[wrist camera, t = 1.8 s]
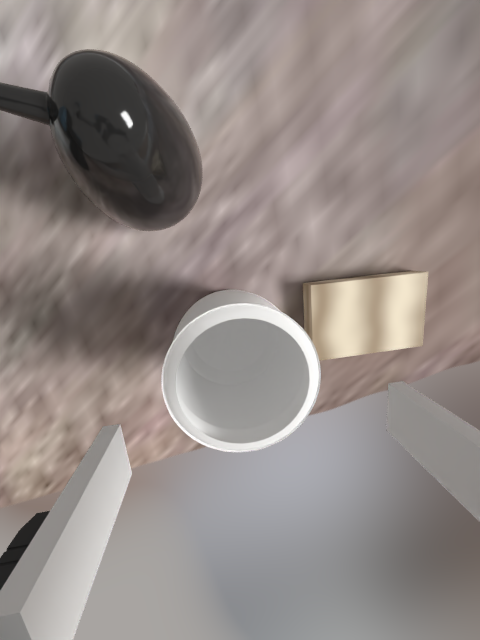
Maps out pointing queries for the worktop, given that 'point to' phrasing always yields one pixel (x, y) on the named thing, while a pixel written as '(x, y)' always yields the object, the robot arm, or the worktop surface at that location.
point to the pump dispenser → (117, 138)
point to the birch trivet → (365, 313)
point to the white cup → (239, 373)
